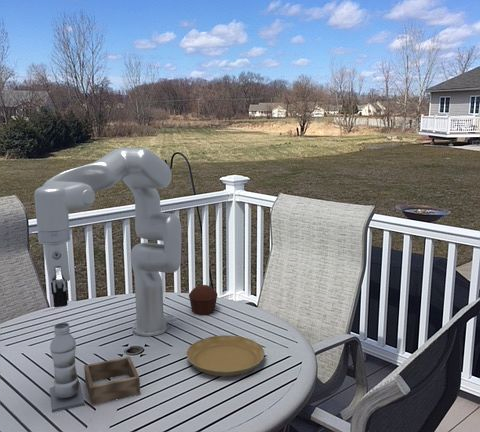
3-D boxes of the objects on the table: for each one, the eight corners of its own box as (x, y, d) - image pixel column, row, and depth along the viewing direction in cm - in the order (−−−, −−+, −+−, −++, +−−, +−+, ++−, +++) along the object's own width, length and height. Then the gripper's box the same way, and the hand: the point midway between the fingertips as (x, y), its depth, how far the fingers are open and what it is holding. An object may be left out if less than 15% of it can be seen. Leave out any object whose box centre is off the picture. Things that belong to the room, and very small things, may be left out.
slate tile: (80, 384, 137) (79, 381, 136) (84, 404, 127) (84, 402, 127) (49, 390, 133) (49, 388, 133) (52, 412, 123) (51, 409, 123)
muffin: (189, 305, 194) (188, 282, 192) (216, 304, 195) (216, 281, 193) (189, 317, 182) (188, 292, 180) (218, 316, 184) (218, 291, 182)
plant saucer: (227, 336, 167) (227, 328, 166) (280, 361, 150) (280, 351, 149) (171, 361, 150) (170, 351, 150) (223, 391, 133) (223, 380, 133)
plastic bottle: (85, 390, 132) (80, 322, 128) (68, 404, 126) (63, 332, 122) (65, 386, 134) (60, 319, 130) (48, 399, 128) (42, 329, 124)
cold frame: (130, 371, 143) (129, 356, 142) (140, 394, 132) (139, 377, 131) (85, 381, 138) (84, 365, 137) (91, 405, 126) (89, 388, 125)
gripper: (73, 242, 115) (78, 309, 118) (67, 227, 130) (71, 287, 134) (39, 245, 112) (45, 314, 115) (37, 229, 127) (42, 291, 131)
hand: (59, 299), depth 125 cm, fingers open, 9 cm apart
